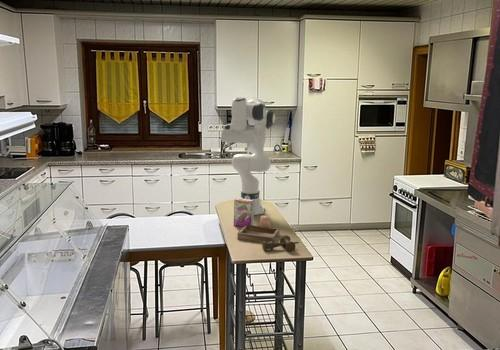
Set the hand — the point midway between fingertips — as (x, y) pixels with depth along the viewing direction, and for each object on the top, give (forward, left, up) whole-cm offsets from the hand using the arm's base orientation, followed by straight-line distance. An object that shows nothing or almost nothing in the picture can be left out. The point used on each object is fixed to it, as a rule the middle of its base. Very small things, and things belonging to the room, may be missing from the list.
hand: (238, 150), depth 258 cm
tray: (+12, +18, -46) cm, 51 cm away
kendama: (+25, +34, -47) cm, 63 cm away
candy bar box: (-3, +4, -46) cm, 47 cm away
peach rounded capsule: (-1, +18, -46) cm, 49 cm away
